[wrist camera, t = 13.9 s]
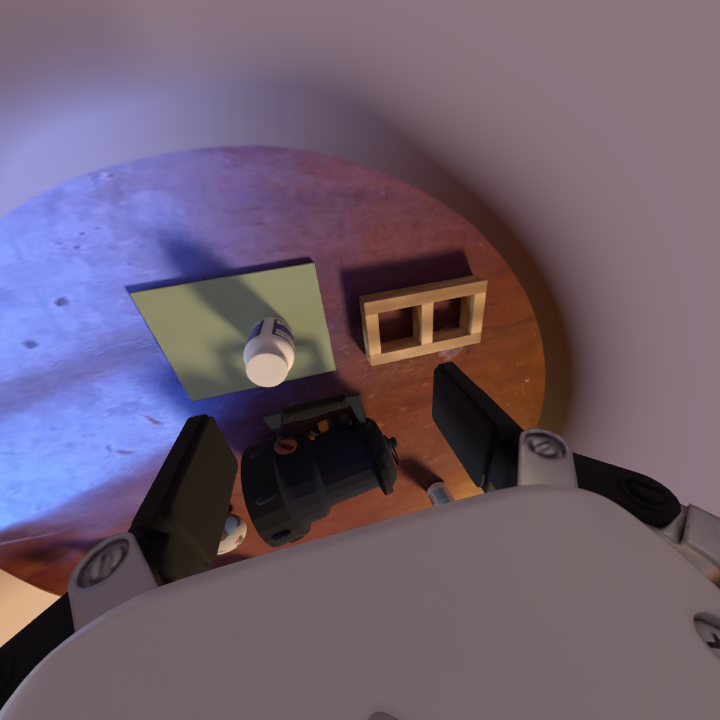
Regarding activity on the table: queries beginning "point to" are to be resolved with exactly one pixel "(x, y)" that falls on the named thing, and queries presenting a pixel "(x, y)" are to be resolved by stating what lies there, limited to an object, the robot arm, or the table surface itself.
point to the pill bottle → (269, 352)
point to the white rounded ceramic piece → (232, 533)
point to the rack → (423, 318)
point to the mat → (235, 325)
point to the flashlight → (313, 467)
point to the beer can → (439, 494)
